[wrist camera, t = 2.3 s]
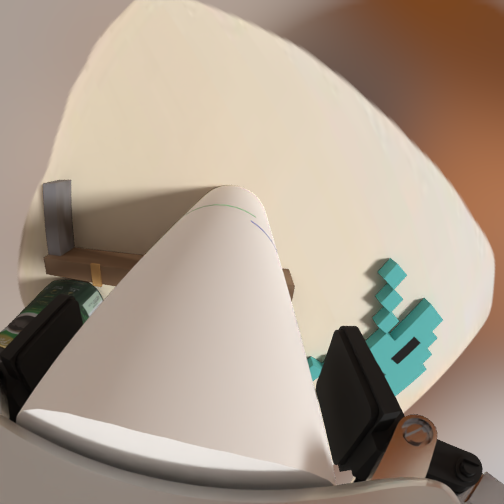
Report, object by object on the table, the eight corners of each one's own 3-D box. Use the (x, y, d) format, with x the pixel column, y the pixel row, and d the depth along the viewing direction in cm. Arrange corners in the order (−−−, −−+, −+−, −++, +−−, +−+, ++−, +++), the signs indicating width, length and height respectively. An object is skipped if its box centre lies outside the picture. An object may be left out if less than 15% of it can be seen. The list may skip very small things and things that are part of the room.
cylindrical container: (229, 268, 29) (196, 536, 5) (180, 220, 27) (5, 441, 4) (281, 222, 27) (391, 491, 4) (231, 169, 26) (68, 326, 2)
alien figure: (274, 366, 34) (359, 410, 39) (275, 378, 32) (363, 419, 37) (388, 256, 29) (449, 331, 34) (397, 263, 27) (456, 339, 32)
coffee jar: (62, 325, 32) (-6, 413, 14) (47, 275, 29) (-43, 354, 12) (117, 333, 32) (54, 444, 14) (103, 278, 29) (9, 383, 12)
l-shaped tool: (285, 288, 30) (291, 308, 26) (64, 262, 28) (45, 276, 24) (300, 193, 26) (309, 200, 22) (58, 180, 25) (35, 185, 21)
